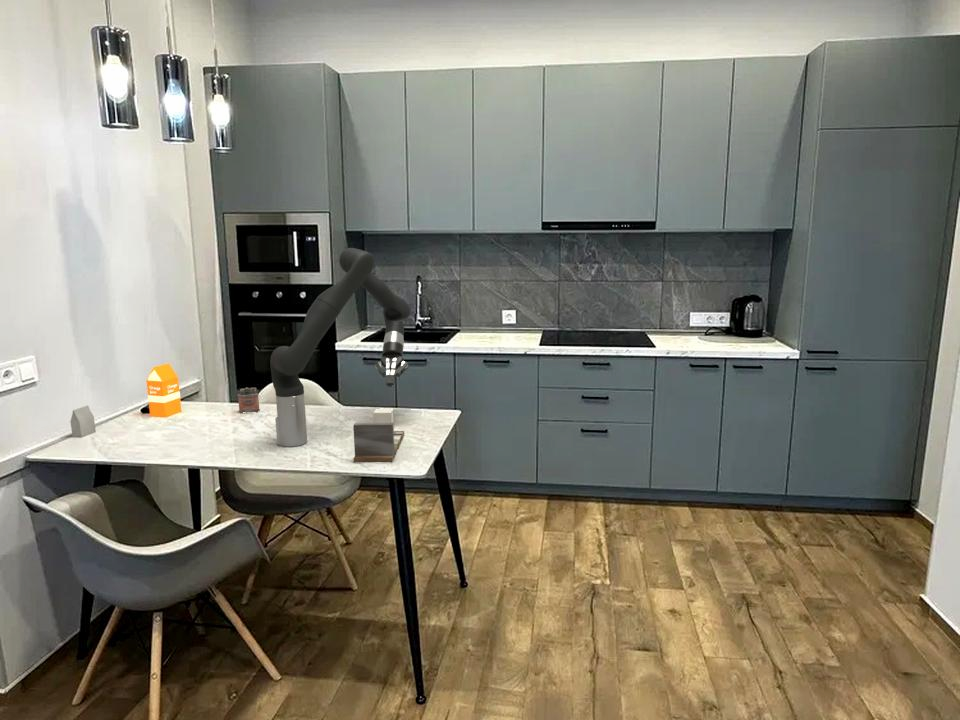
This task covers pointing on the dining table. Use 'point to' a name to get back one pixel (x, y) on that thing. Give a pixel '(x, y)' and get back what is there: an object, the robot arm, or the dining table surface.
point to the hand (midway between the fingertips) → (389, 385)
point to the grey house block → (82, 422)
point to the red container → (248, 400)
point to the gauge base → (376, 441)
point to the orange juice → (163, 391)
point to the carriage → (384, 416)
